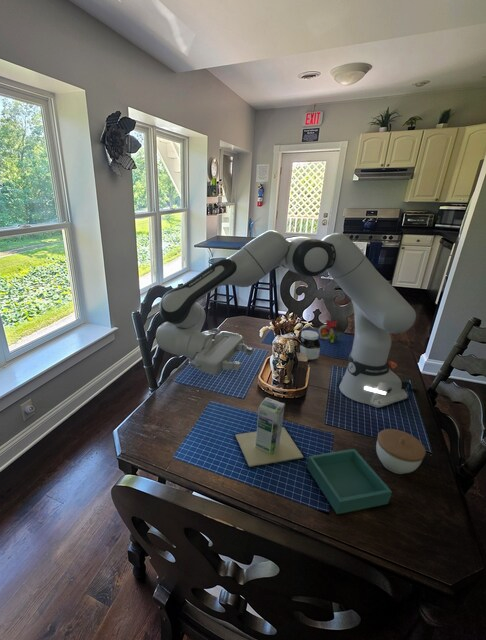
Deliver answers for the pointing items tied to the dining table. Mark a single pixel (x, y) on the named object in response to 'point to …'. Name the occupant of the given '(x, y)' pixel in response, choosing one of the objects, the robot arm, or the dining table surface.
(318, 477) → the teal green tray
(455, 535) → the dining table surface
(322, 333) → the bird rattle
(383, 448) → the trinket box
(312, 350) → the spread jar
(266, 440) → the syrup box
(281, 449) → the felt mat
